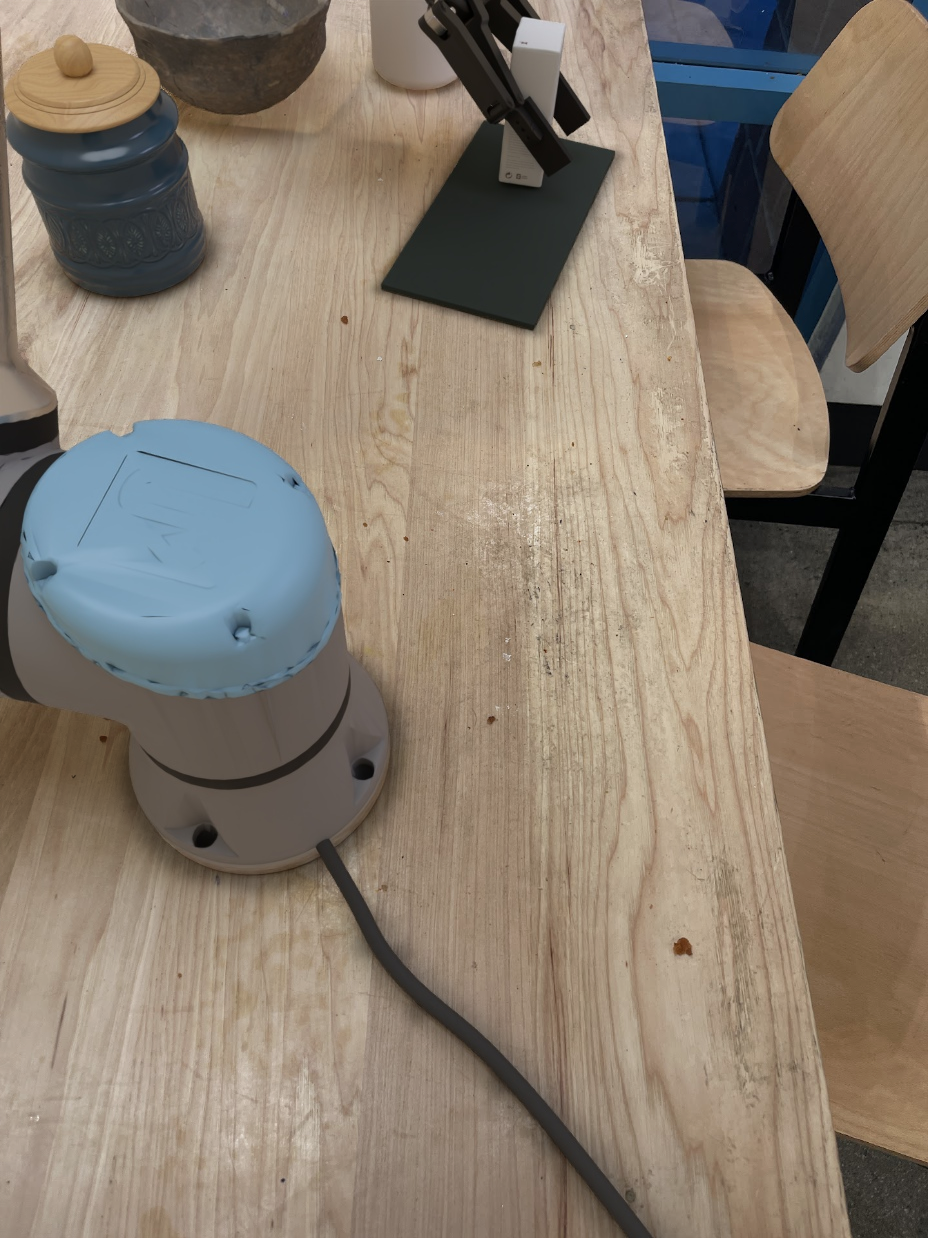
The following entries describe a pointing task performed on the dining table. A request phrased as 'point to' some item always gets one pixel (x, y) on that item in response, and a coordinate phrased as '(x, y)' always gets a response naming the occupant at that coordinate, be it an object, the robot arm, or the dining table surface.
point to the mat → (498, 233)
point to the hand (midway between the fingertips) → (569, 146)
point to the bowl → (229, 48)
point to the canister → (106, 167)
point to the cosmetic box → (532, 92)
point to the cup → (406, 46)
